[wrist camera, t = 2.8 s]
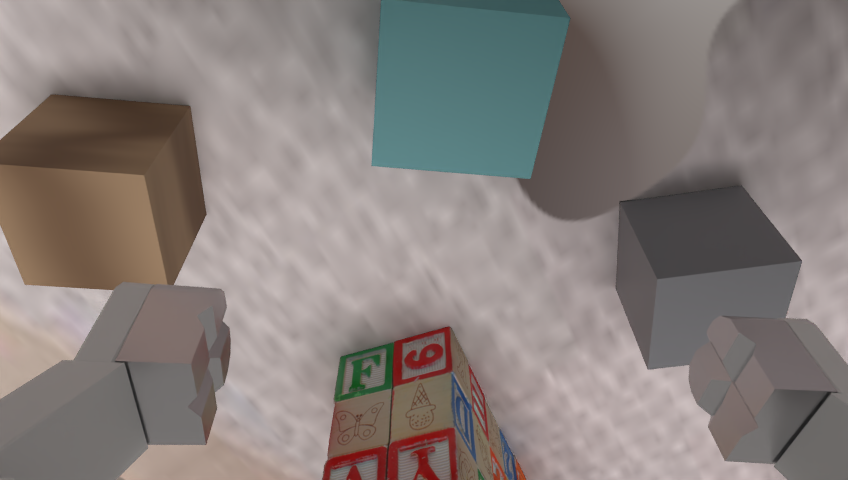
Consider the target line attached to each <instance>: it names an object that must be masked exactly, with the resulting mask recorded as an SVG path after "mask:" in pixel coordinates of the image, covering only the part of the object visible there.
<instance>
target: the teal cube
mask: <svg viewBox="0 0 848 480" xmlns="http://www.w3.org/2000/svg"><path fill="white" fill-rule="evenodd" d="M569 21H570V17H569V16H568V14H567V12H566V11H565V9H564V8H563V6H562V5H561V3H560V1H559V0H381V11H380V28H379V45H378V63H377V80H376V97H375V115H374V132H373V149H372V166H379V167H391V168H403V169H415V170H428V171H440V172H452V173H465V174H477V175H489V176H501V177H514V178H526V179H530V178H531V175H532V171H533V167H534V163H535V159H536V154H537V150H538V146H539V143H540V138H541V134H542V130H543V126H544V122H545V118H546V114H547V110H548V106H549V102H550V98H551V94H552V90H553V86H554V82H555V78H556V74H557V70H558V66H559V62H560V58H561V54H562V50H563V46H564V42H565V38H566V33H567V30H568V26H569Z"/></svg>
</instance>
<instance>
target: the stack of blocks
mask: <svg viewBox="0 0 848 480" xmlns="http://www.w3.org/2000/svg"><path fill="white" fill-rule="evenodd" d="M334 404H335V407H334V413H333V420H332V426H331V433H330V439H329V447H328V460H327V461H326V463H325V465H324V471H323V478H322V480H526V478H525V476H524V474H523V472H522V470H521V468H520V466H519V464H518V462H517V460H516V458H515V456H513V455H512V452H511V450H510V448H509V447H508V444H507V442H506V440H505V438H504V436H503V434H502V432H501V430H500V429H499V428H498V425H497V423H496V421H495V419H494V417H493V415H492V413H491V411H490V409H489V407H488V405H487V403H486V401H485V397H484V395H483V393H482V390H481V388H480V386H479V384H478V382H477V380H476V378H475V376H474V374H473V372H472V370H471V368H470V366H469V364H468V361H467V359H466V357H465V355H464V353H463V351H462V349H461V347H460V345H459V342H458V340H457V338H456V336H455V334H454V332H453V330H452V329H451V327H445V328H442V329H438V330H435V331H431V332H427V333H424V334H420V335H416V336H413V337H409V338H406V339H402V340H398V341H396V342H394V343H390V344H387V345H383V346H379V347H375V348H372V349H368V350H364V351H361V352H357V353H353V354H350V355H346V356H342V357H341V358H340V364H339V370H338V376H337V381H336V388H335V395H334Z"/></svg>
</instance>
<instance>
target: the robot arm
mask: <svg viewBox="0 0 848 480" xmlns="http://www.w3.org/2000/svg"><path fill="white" fill-rule="evenodd" d="M226 308H227V305H226V299H225V293H224V291H223V290H222V289H217V288H204V287H191V286H178V285H165V284H156V285H154V284H143V283H131V282H122V283H121V284H120V285H118V286H117V287H116V288H115V289H114V290H113V292H112V294H111V296H110V297H109V299H108V301H107V303H106V304H105V306H104V308H103V310H102V311H101V313H100V315H99V317H98V318H97V320H96V322H95V324H94V325H93V327H92V329H91V330H90V332H89V334H88V336H87V337H86V339H85V341H84V343H83V344H82V346H81V348H80V350H79V351H78V353H77V355H76V357H75V358H74V360H73V361H72V360H62V361H61V362H59V363H57V364H56V365H54V366H53V367H51V368H49V369H48V370H46V371H45V372H43V373H41V374H40V375H38V376H37V377H35V378H34V379H32V380H30V381H29V382H27V383H26V384H24V385H22V386H21V387H19V388H18V389H16V390H14V391H13V392H11V393H10V394H8V395H6V396H5V397H3V398H2V399H0V480H116V479H117V478H118V477H119V476H120V475H121V474H122V473H123V472H124V471H125V470H126V469H127V468H128V467H129V466H130V465H131V464H132V463H133V462H134V461H135V460H136V459H137V458H138V457H140V456H141V455H142V454H143V453H144V452H145V451H146V450H147V449H148V445H206V444H207V440H208V437H209V434H210V430H211V427H212V424H213V420H214V417H215V414H216V410H217V405H216V398H215V392H216V391H217V390H219V389H220V388H221V387H222V386H223V385H224V383H225V379H226V375H227V372H228V366H229V359H230V345H231V338H230V329H229V327H228V326H227V325H226V324H225V323H224V322H223V318H224V315H225V312H226ZM706 333H707V336H708V338H709V341H710V342H708V343H707V344H705V345H704V346H702V347H701V348H699V349H697V350H696V352H695V354H694V356H693V358H692V360H691V362H690V365H689V384H690V388H691V392H692V394H693V396H694V399H695V401H696V403H697V404H698V405H699V406H700V407H701V408H702V409H704V410H705V411H706V412H707V413H709V414H710V415H711V418H710V421H709V425H708V428H709V430H710V432H711V434H712V436H713V438H714V440H715V442H716V444H717V446H718V448H719V450H720V452H721V454H722V456H723V458H724V460H725V461H733V462H750V463H767V464H775V465H774V467H775V468H776V469H777V470H778V471H779V472H780V473H781V474H782V475H783V476H784V477H785V478H786V479H787V480H848V365H847V363H846V362H845V361H844V360H843V358H842V357H841V356H840V355H839V353H838V352H837V351H836V350H835V348H834V347H833V346H832V344H831V343H830V342H829V341H828V339H827V338H826V337H825V336H824V334H823V333H822V332H821V331H820V329H819V328H818V327H817V326H816V325H815V324H814V323H812V322H811V321H809V320H807V319H791V318H776V319H774V318H759V317H738V316H719V317H717V318H716V319H715V320H713V321H712V323H711V324H710V326H709V328H708V330H707V331H706Z"/></svg>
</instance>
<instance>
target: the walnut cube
mask: <svg viewBox="0 0 848 480" xmlns="http://www.w3.org/2000/svg"><path fill="white" fill-rule="evenodd" d="M205 216H206V209H205V202H204V195H203V188H202V182H201V175H200V168H199V161H198V155H197V148H196V141H195V134H194V127H193V121H192V114H191V107H190V106H184V105H172V104H160V103H148V102H136V101H125V100H113V99H101V98H89V97H77V96H66V95H54V94H51V95H50V96H49V97H48V98H47V99H46V100H45V101H44V102H42V103H41V104H40V105H39V106H38V107H37V108H36V109H35V110H33V111H32V112H31V113H30V114H29V115H28V116H27V117H26V118H24V119H23V120H22V121H21V122H20V123H19V124H18V125H17V126H15V127H14V128H13V129H12V130H11V131H10V132H9V133H8V134H6V135H5V136H4V137H3V138H2V139H1V140H0V225H1V228H2V230H3V232H4V235H5V237H6V240H7V242H8V245H9V247H10V250H11V252H12V254H13V257H14V259H15V262H16V264H17V267H18V269H19V272H20V274H21V276H22V279H23V281H24V284H25V285H40V286H56V287H72V288H89V289H105V290H114V289H115V288H116V287H117V286H118V285H120V284H121V283H122V282H131V283H143V284H154V285H156V284H165V285H174V283H175V281H176V279H177V276H178V274H179V272H180V270H181V268H182V266H183V264H184V261H185V259H186V257H187V255H188V253H189V251H190V249H191V246H192V244H193V242H194V240H195V238H196V236H197V234H198V231H199V229H200V227H201V225H202V223H203V221H204V219H205Z"/></svg>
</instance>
